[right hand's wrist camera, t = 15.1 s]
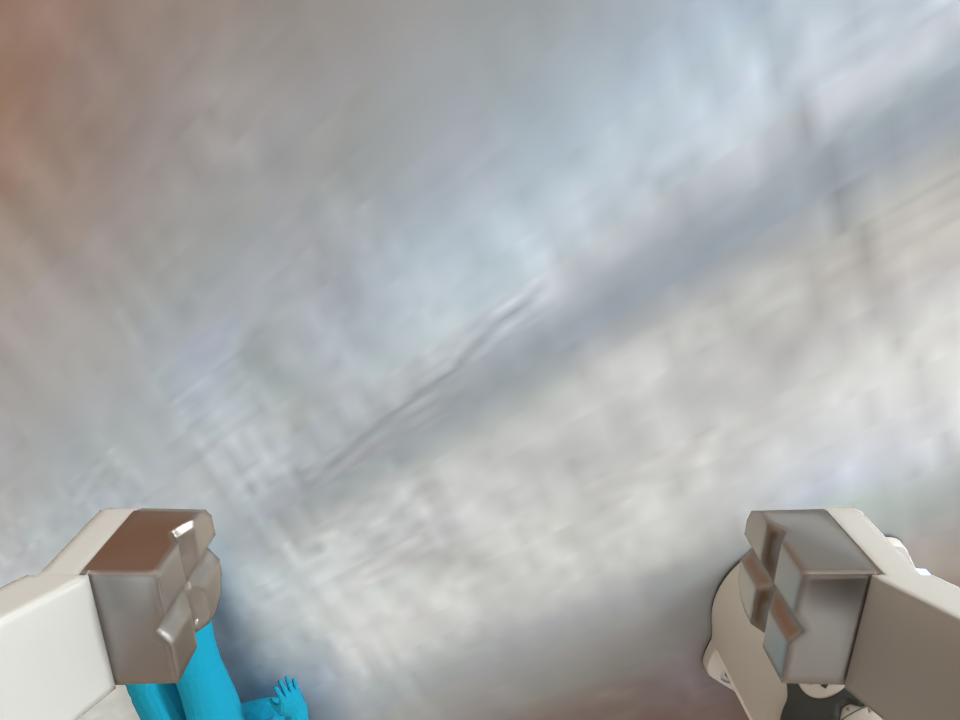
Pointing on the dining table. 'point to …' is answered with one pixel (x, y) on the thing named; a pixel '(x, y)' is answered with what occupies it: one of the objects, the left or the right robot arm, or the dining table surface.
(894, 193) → the dining table surface
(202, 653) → the toy
